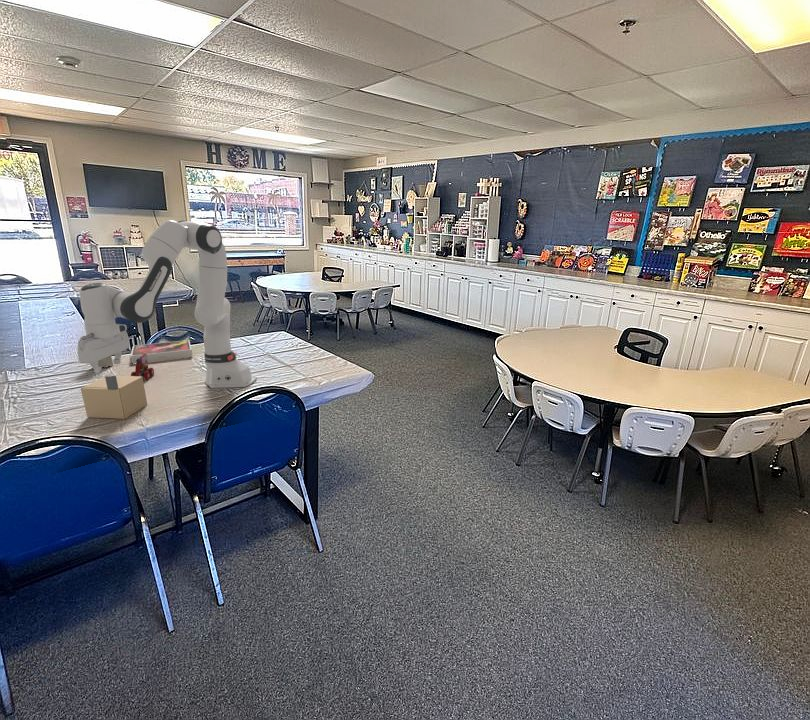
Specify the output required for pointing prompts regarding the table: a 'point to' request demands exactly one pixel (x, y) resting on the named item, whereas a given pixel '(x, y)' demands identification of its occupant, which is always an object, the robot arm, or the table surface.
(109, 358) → the travel mug
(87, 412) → the carton flap
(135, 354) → the product packaging
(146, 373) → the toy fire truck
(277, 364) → the table surface
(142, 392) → the carton
